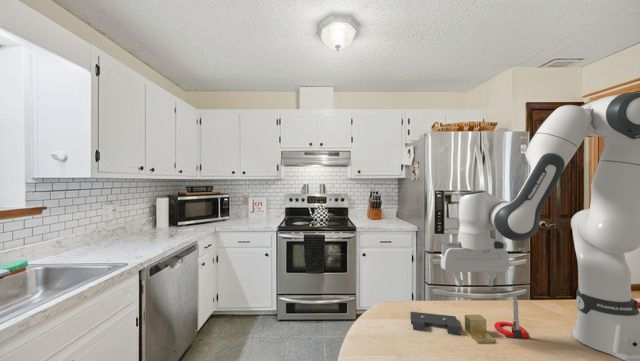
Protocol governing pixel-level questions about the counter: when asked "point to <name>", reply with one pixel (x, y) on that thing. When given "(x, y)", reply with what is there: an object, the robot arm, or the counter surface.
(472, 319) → the loose leaf
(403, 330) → the counter surface
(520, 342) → the counter surface
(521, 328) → the tow hook
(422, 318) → the fixed leaf
